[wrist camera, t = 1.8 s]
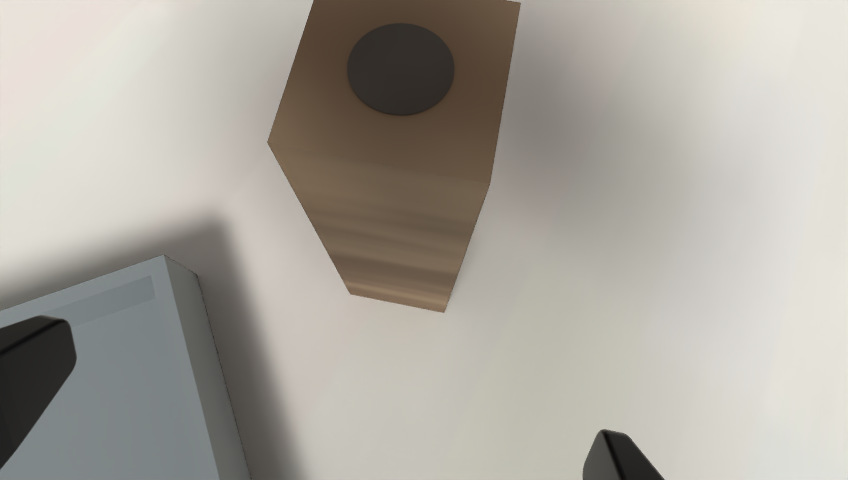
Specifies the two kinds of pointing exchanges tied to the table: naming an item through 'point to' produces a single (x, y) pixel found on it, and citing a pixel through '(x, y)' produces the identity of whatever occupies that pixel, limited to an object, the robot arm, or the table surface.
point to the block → (396, 136)
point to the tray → (133, 384)
